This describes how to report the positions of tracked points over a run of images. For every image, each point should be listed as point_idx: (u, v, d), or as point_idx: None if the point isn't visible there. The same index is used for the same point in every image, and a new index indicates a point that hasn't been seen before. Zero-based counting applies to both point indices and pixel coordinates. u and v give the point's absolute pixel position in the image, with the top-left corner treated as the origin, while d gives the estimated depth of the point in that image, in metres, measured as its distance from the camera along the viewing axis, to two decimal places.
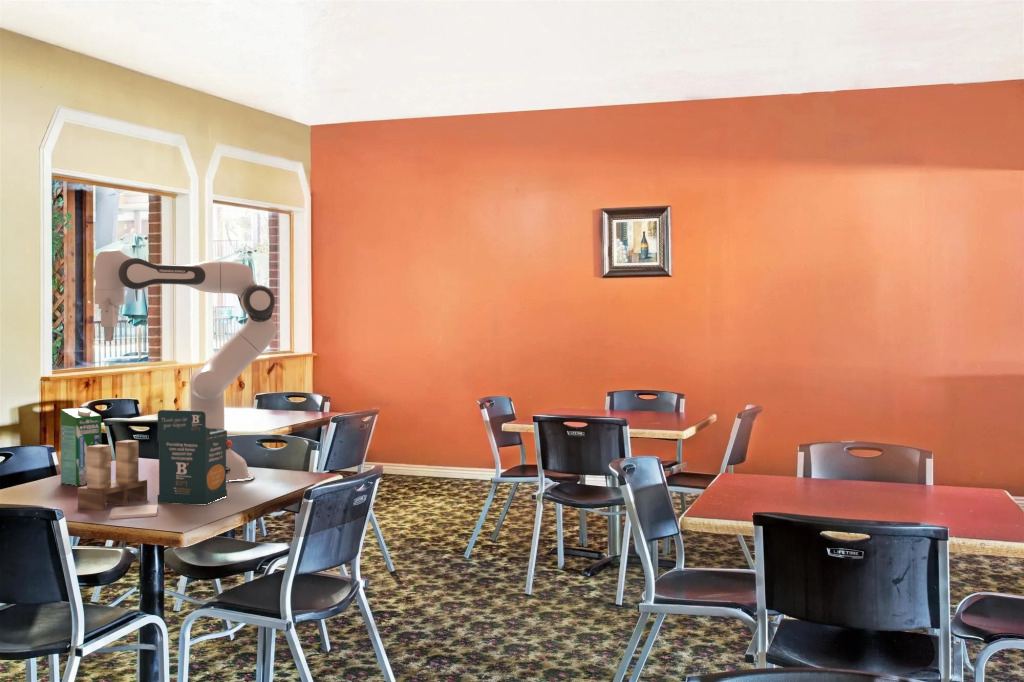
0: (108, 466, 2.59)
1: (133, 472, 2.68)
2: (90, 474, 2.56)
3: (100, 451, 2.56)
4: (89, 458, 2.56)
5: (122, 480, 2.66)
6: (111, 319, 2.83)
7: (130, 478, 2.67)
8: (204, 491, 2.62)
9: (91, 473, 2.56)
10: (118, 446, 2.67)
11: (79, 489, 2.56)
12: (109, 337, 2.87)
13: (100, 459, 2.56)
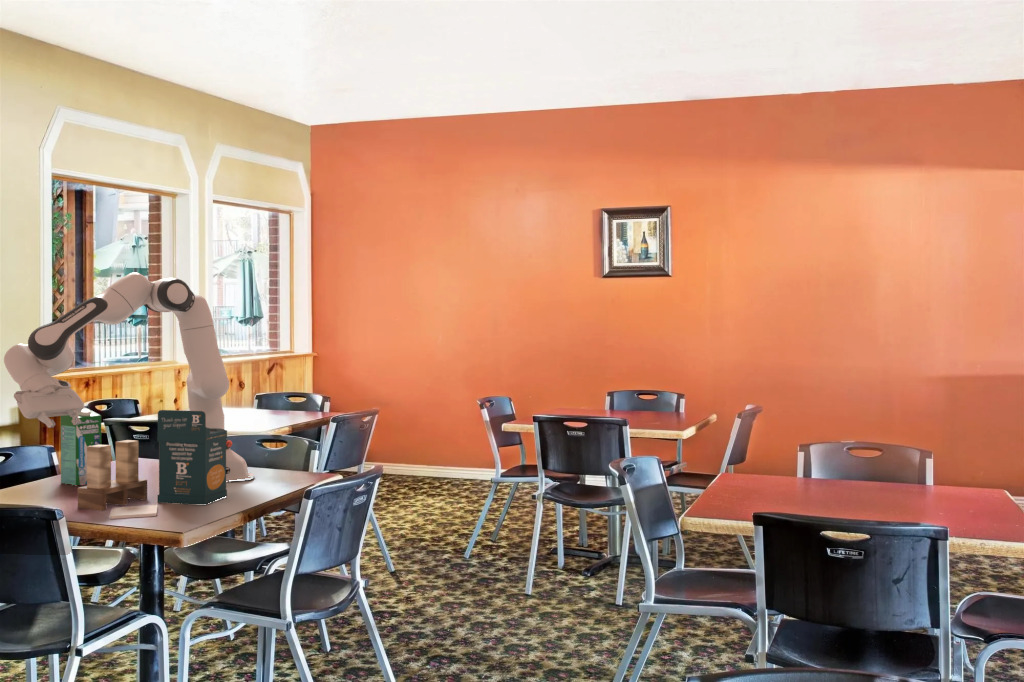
0: (108, 466, 2.59)
1: (133, 472, 2.68)
2: (90, 474, 2.56)
3: (100, 451, 2.56)
4: (89, 458, 2.56)
5: (122, 480, 2.66)
6: (27, 406, 2.54)
7: (130, 478, 2.67)
8: (204, 491, 2.62)
9: (91, 473, 2.56)
10: (118, 446, 2.67)
11: (79, 489, 2.56)
12: (48, 422, 2.58)
13: (100, 459, 2.56)
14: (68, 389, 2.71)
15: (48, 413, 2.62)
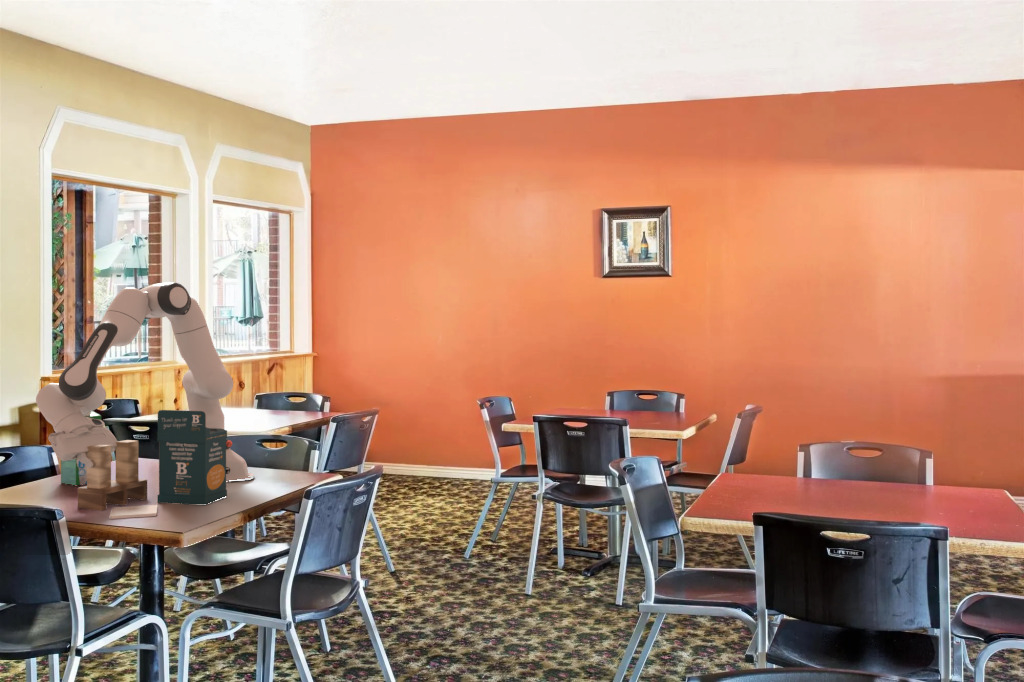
0: (108, 466, 2.59)
1: (133, 472, 2.68)
2: (90, 474, 2.56)
3: (100, 451, 2.56)
4: (89, 458, 2.56)
5: (122, 480, 2.66)
6: (62, 449, 2.50)
7: (130, 478, 2.67)
8: (204, 491, 2.62)
9: (91, 473, 2.56)
10: (118, 446, 2.67)
11: (79, 489, 2.56)
12: (89, 462, 2.55)
13: (100, 459, 2.56)
14: (102, 427, 2.66)
15: None
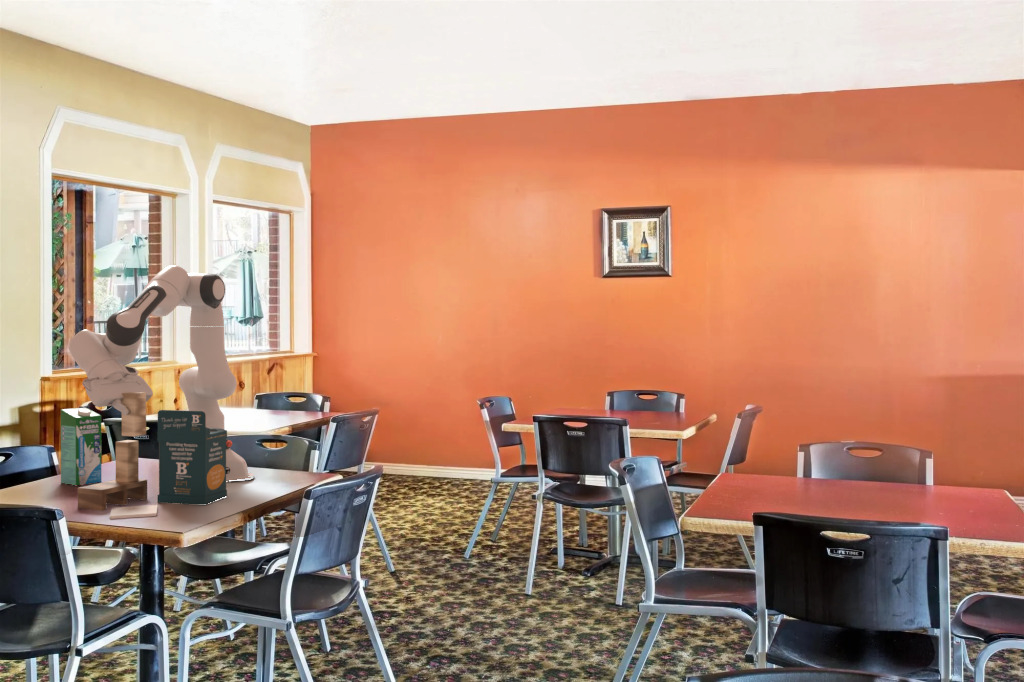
0: (143, 414, 2.51)
1: (133, 472, 2.68)
2: (125, 422, 2.48)
3: (135, 397, 2.48)
4: (124, 405, 2.48)
5: (122, 480, 2.66)
6: (97, 394, 2.42)
7: (130, 478, 2.67)
8: (204, 491, 2.62)
9: (126, 421, 2.48)
10: (118, 446, 2.67)
11: (79, 489, 2.56)
12: (124, 409, 2.47)
13: (135, 406, 2.48)
14: (136, 376, 2.58)
15: None
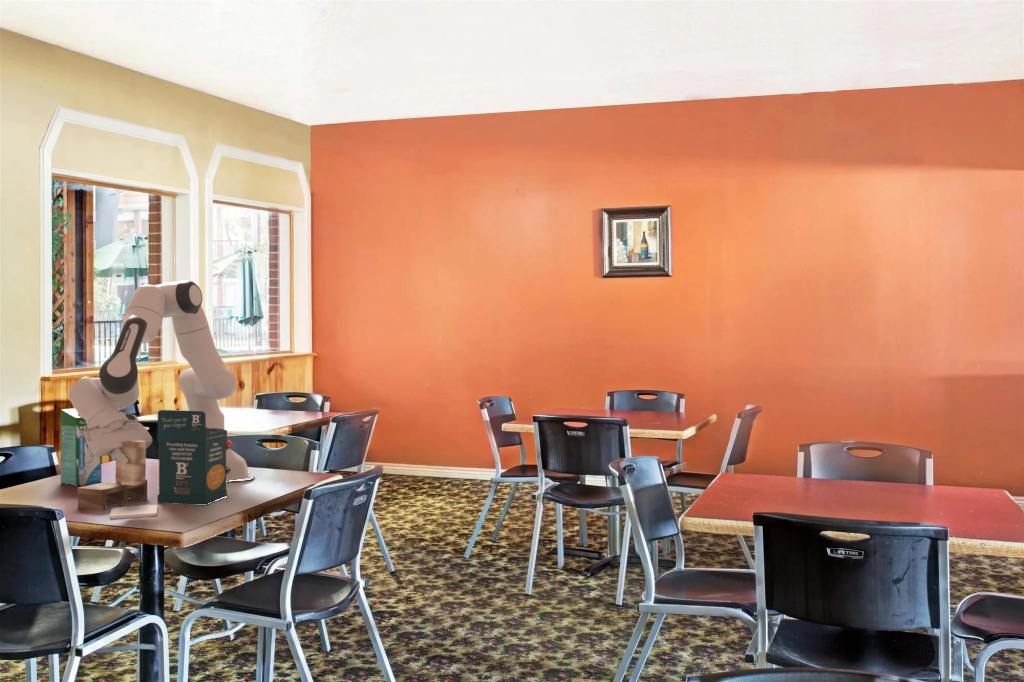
0: (143, 462, 2.51)
1: None
2: (124, 470, 2.49)
3: (135, 446, 2.48)
4: None
5: None
6: (97, 444, 2.42)
7: None
8: (204, 491, 2.62)
9: (125, 469, 2.48)
10: None
11: (79, 489, 2.56)
12: (123, 458, 2.47)
13: (135, 455, 2.48)
14: (135, 423, 2.59)
15: None
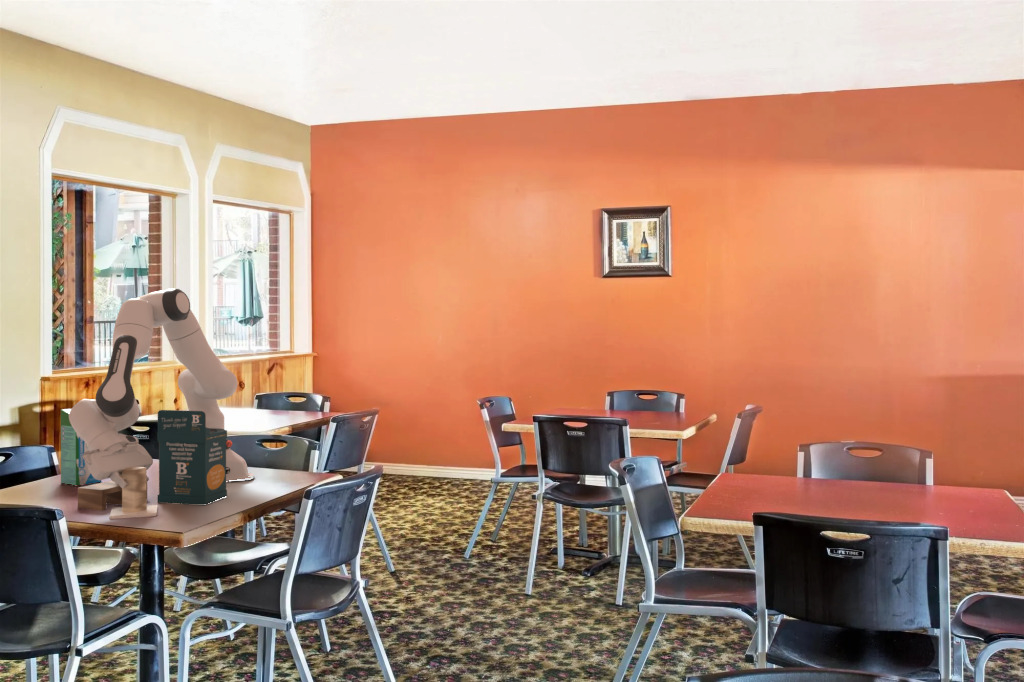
0: (144, 489, 2.51)
1: None
2: (125, 497, 2.49)
3: (135, 473, 2.48)
4: None
5: None
6: (97, 467, 2.42)
7: None
8: (204, 491, 2.62)
9: (126, 496, 2.49)
10: None
11: (79, 489, 2.56)
12: (122, 482, 2.46)
13: (135, 482, 2.48)
14: (136, 444, 2.59)
15: (118, 472, 2.50)
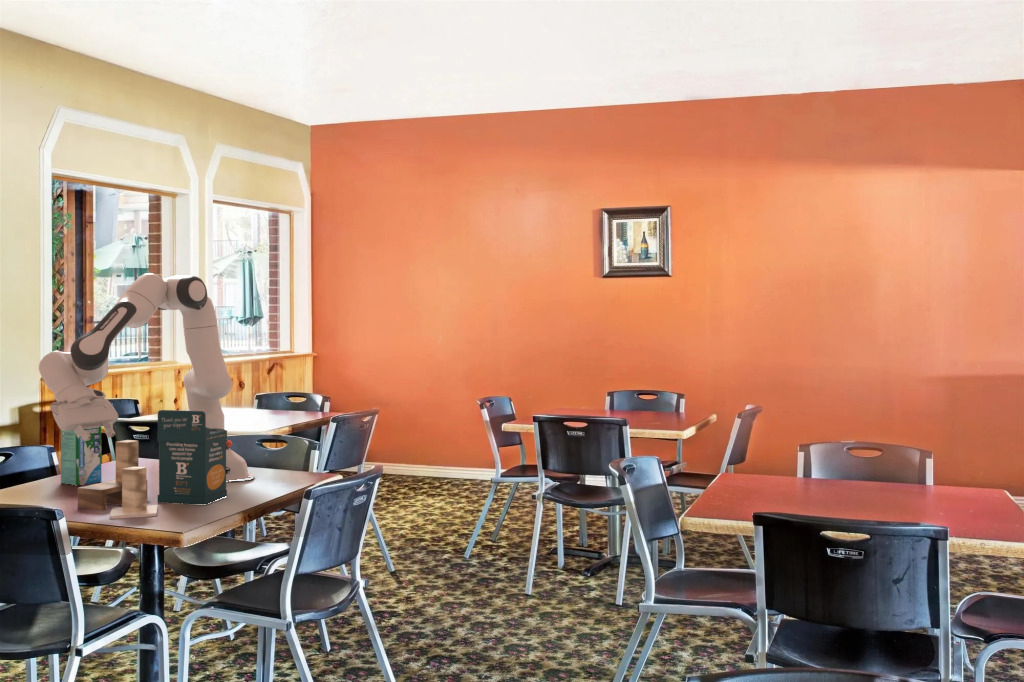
0: (144, 489, 2.51)
1: None
2: (125, 497, 2.49)
3: (135, 473, 2.48)
4: (124, 481, 2.49)
5: None
6: (64, 419, 2.48)
7: None
8: (204, 491, 2.62)
9: (126, 496, 2.49)
10: (118, 446, 2.67)
11: (79, 489, 2.56)
12: (84, 435, 2.52)
13: (135, 482, 2.48)
14: (103, 399, 2.65)
15: (83, 425, 2.56)
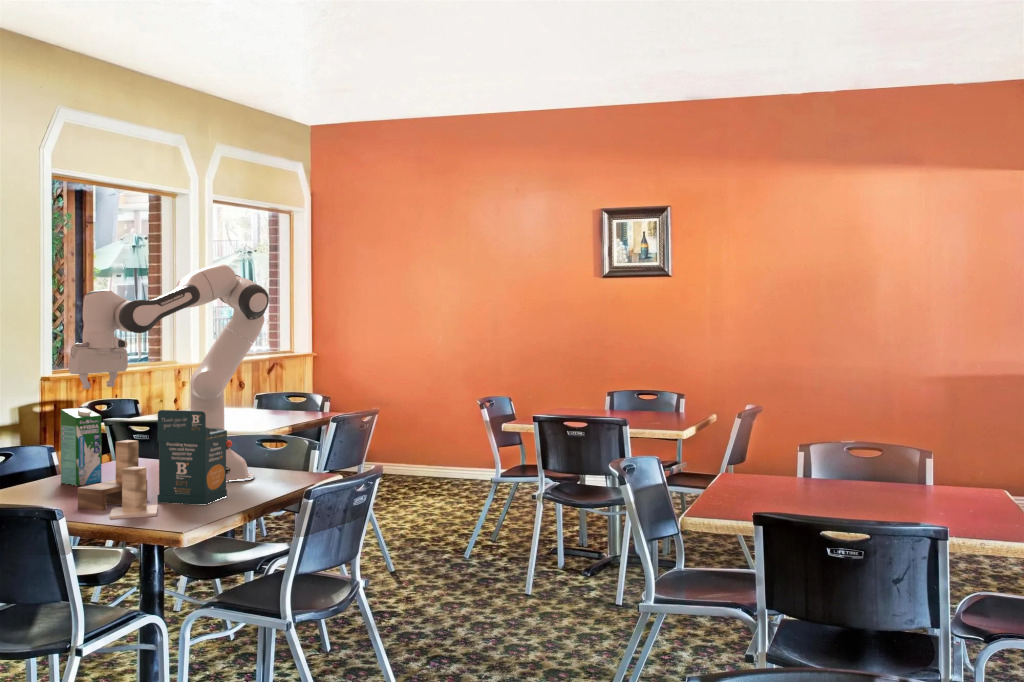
0: (144, 489, 2.51)
1: None
2: (125, 497, 2.49)
3: (135, 473, 2.48)
4: (124, 481, 2.49)
5: None
6: (76, 366, 2.60)
7: None
8: (204, 491, 2.62)
9: (126, 496, 2.49)
10: (118, 446, 2.67)
11: (79, 489, 2.56)
12: (85, 384, 2.64)
13: (135, 482, 2.48)
14: (122, 350, 2.75)
15: None
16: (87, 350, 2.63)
